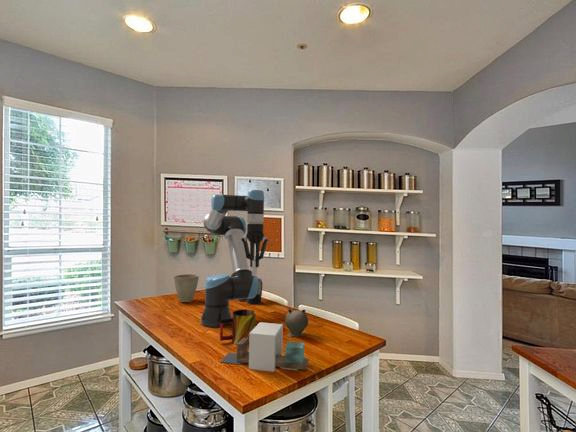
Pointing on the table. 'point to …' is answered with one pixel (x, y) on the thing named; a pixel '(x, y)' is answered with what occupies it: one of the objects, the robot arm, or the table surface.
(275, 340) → the upright grey pillar
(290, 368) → the pad
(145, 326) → the table surface
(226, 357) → the pit pad
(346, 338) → the table surface
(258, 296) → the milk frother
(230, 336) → the mug
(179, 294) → the plant pot
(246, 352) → the sled
